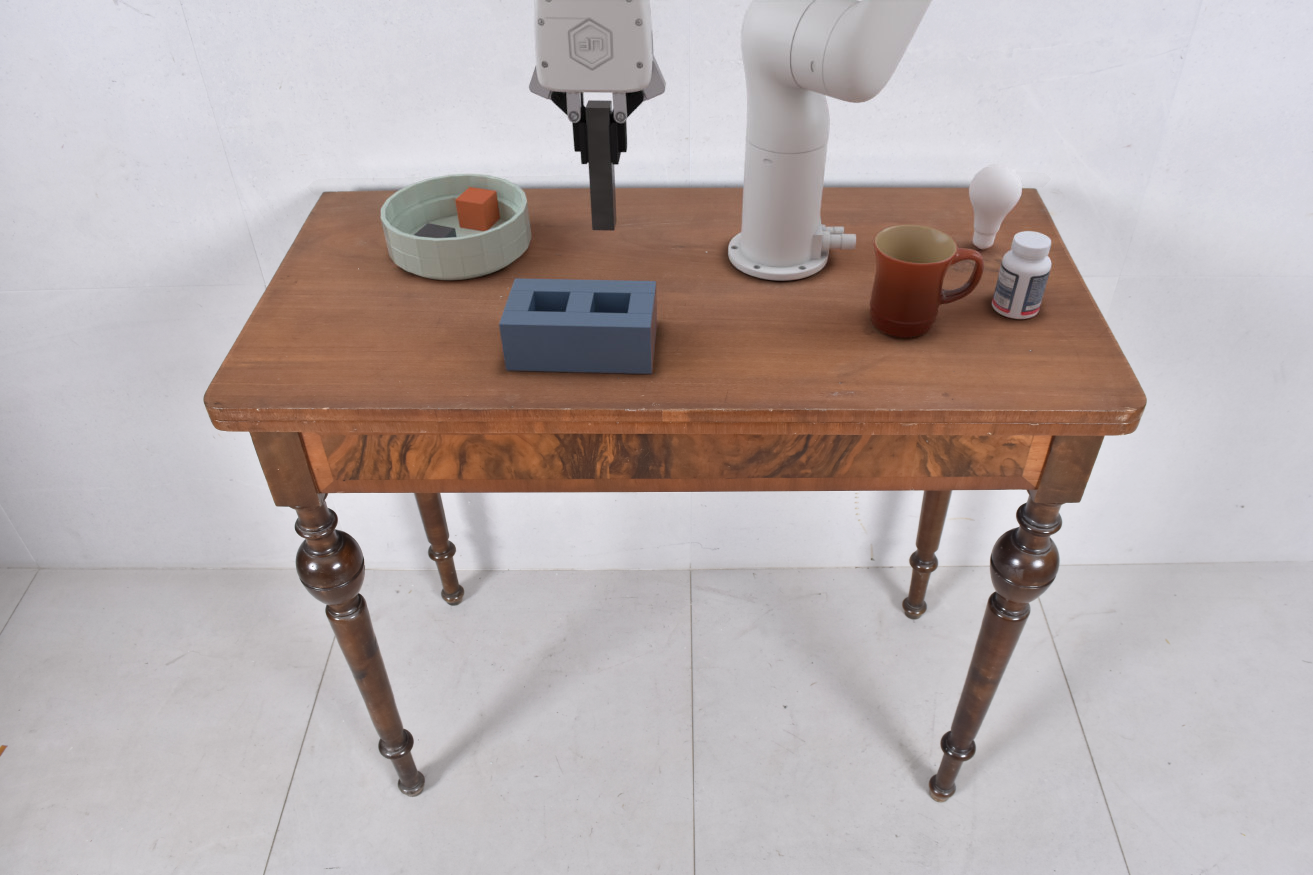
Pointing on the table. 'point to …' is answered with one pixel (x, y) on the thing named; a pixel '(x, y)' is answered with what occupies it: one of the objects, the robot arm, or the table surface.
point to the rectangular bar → (600, 165)
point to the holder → (580, 326)
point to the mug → (915, 278)
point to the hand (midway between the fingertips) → (601, 157)
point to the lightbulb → (992, 201)
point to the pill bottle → (1023, 276)
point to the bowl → (470, 247)
